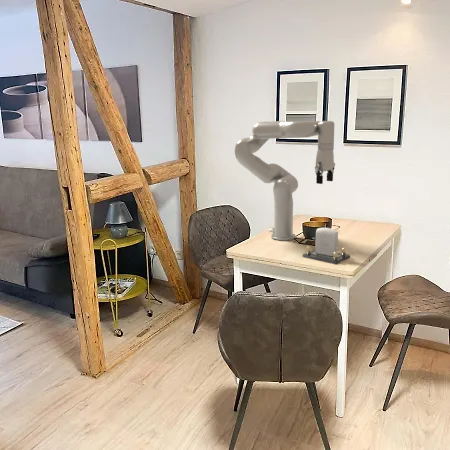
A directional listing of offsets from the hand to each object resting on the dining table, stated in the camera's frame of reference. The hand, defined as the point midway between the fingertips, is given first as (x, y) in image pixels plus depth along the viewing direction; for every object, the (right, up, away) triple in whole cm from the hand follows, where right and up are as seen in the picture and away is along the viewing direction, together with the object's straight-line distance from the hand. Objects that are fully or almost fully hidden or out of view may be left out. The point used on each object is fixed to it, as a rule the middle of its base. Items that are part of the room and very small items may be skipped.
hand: (324, 182), depth 231 cm
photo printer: (-3, -35, -17) cm, 39 cm away
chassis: (-3, -36, -17) cm, 39 cm away
